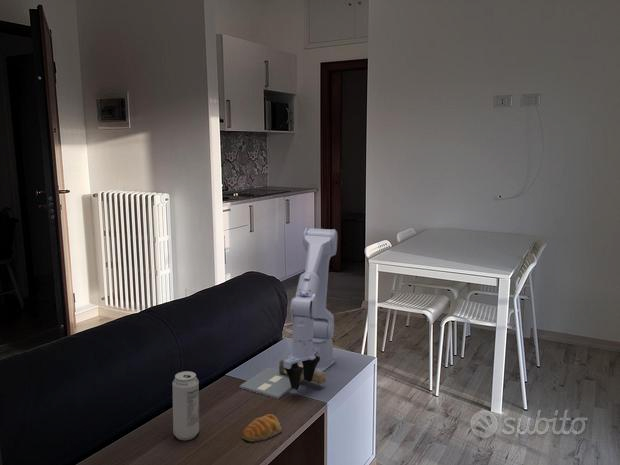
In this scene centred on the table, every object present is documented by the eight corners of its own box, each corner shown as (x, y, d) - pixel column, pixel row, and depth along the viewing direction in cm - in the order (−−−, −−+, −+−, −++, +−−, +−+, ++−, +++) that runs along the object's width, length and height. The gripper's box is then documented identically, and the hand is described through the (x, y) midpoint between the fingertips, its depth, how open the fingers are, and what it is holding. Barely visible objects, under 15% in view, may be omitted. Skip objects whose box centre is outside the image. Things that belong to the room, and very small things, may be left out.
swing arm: (277, 372, 159) (277, 362, 159) (283, 369, 162) (283, 359, 161) (319, 387, 150) (320, 376, 150) (325, 383, 153) (325, 373, 152)
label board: (268, 369, 164) (268, 366, 164) (304, 379, 158) (304, 376, 158) (239, 388, 151) (239, 385, 151) (278, 399, 145) (278, 396, 145)
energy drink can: (184, 425, 130) (183, 368, 128) (204, 431, 128) (203, 373, 125) (168, 437, 125) (166, 377, 123) (188, 444, 122) (187, 383, 120)
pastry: (253, 448, 122) (253, 432, 121) (235, 436, 127) (235, 421, 126) (283, 433, 129) (283, 418, 128) (265, 422, 133) (265, 408, 133)
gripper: (298, 349, 139) (297, 398, 141) (329, 334, 150) (327, 379, 153) (277, 343, 143) (276, 390, 145) (308, 329, 154) (307, 373, 157)
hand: (301, 384), depth 149 cm, fingers open, 6 cm apart
